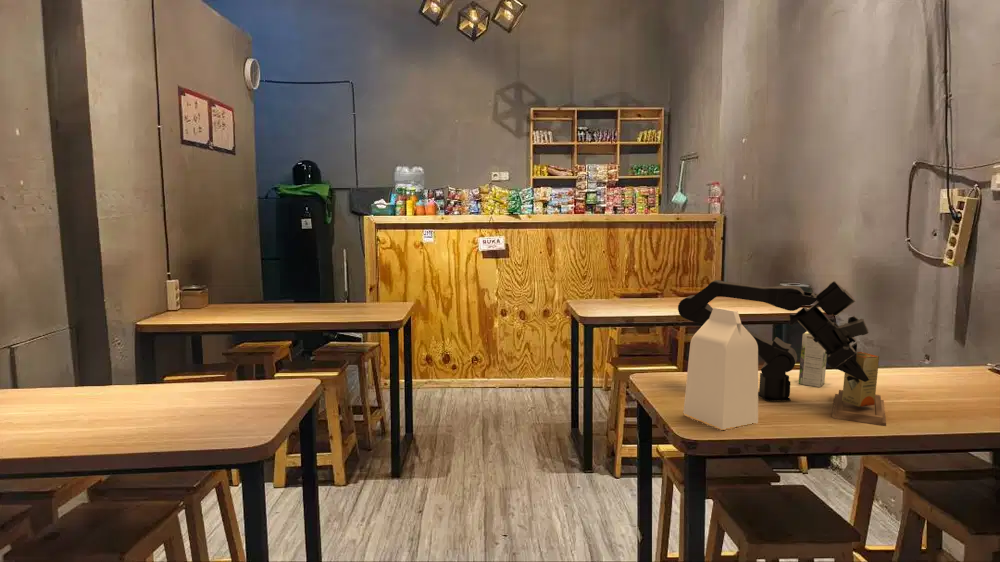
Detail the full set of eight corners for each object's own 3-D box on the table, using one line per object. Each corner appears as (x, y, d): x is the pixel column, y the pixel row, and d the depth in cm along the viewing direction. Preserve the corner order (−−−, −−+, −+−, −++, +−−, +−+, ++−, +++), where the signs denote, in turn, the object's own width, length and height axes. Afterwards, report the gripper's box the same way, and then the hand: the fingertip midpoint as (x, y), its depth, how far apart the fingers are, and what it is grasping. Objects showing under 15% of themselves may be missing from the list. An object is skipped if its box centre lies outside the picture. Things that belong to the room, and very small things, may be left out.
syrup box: (802, 379, 188) (806, 329, 186) (825, 383, 185) (829, 332, 183) (798, 384, 184) (801, 333, 182) (821, 387, 180) (825, 335, 178)
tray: (831, 417, 155) (832, 410, 155) (835, 396, 173) (835, 389, 172) (885, 425, 150) (886, 418, 150) (883, 402, 167) (884, 395, 167)
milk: (683, 415, 156) (687, 307, 153) (717, 408, 162) (722, 303, 159) (722, 431, 146) (728, 315, 143) (758, 423, 151) (764, 311, 148)
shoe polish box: (859, 406, 158) (864, 357, 156) (842, 400, 163) (846, 353, 161) (874, 404, 160) (879, 356, 158) (856, 398, 164) (861, 351, 163)
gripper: (847, 312, 152) (898, 365, 148) (848, 301, 168) (895, 349, 164) (807, 342, 157) (855, 394, 153) (812, 328, 173) (856, 375, 169)
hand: (867, 377), depth 160 cm, fingers closed on shoe polish box, 7 cm apart
